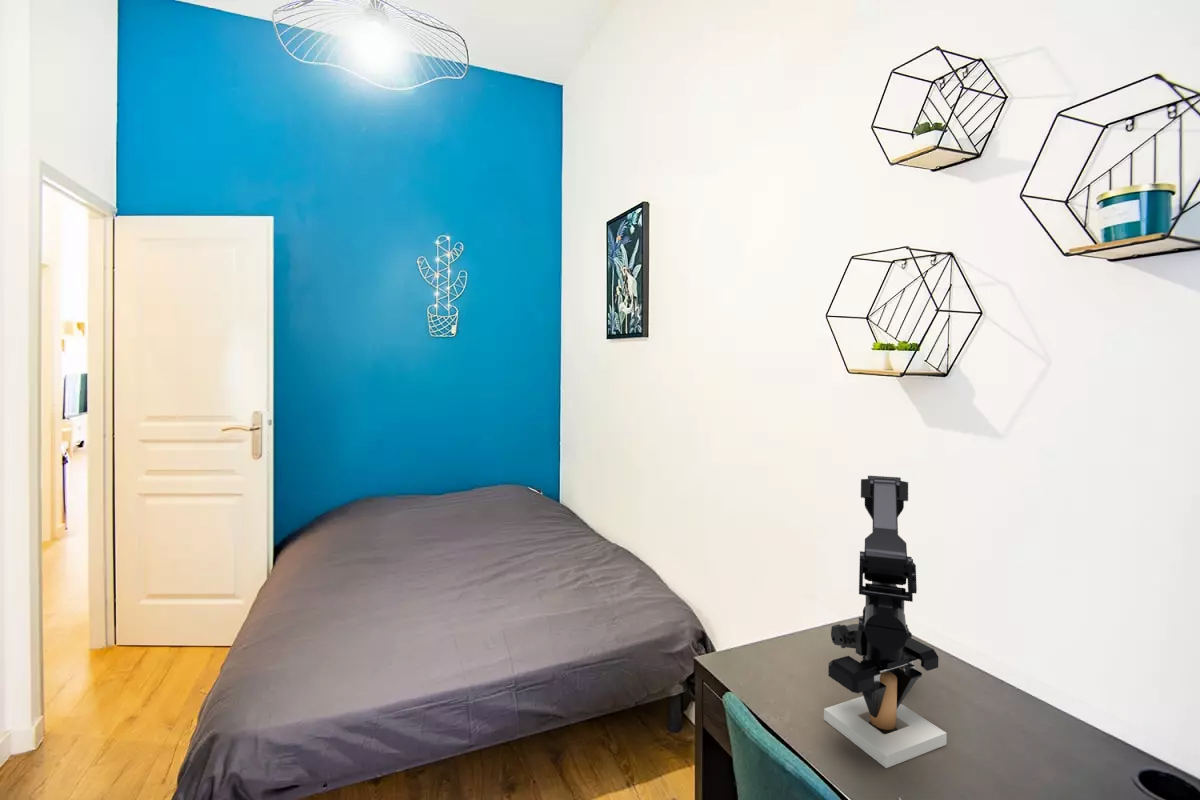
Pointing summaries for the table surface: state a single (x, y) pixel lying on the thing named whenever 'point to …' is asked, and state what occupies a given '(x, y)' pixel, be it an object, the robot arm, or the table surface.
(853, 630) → the robot arm
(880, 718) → the peg
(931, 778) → the table surface
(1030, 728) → the table surface
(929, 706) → the table surface
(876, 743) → the frame
